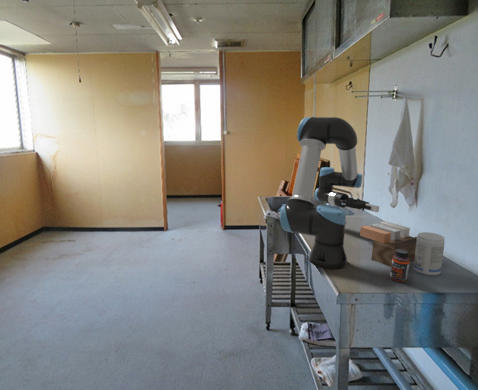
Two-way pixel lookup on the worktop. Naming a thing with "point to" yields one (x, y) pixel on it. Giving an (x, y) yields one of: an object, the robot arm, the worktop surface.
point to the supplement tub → (429, 253)
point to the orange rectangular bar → (375, 234)
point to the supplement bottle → (400, 266)
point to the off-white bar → (398, 228)
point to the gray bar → (394, 232)
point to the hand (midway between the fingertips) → (377, 209)
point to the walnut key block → (393, 249)
